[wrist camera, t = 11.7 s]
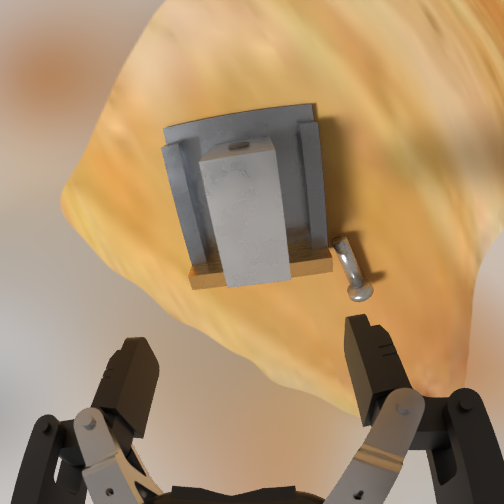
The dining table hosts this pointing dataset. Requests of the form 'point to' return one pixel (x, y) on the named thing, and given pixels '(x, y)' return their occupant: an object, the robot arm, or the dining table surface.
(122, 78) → the dining table surface
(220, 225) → the grey metal block
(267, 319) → the dining table surface
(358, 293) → the hitch pin
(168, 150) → the grey channel bracket
